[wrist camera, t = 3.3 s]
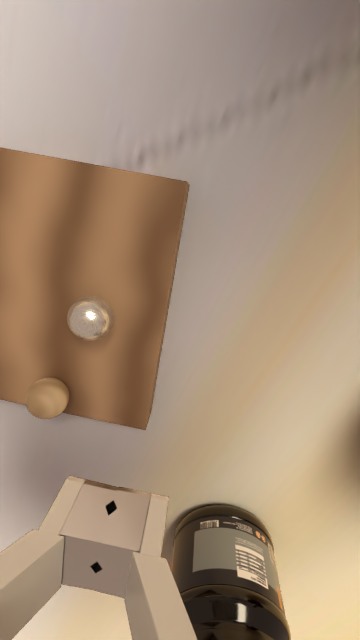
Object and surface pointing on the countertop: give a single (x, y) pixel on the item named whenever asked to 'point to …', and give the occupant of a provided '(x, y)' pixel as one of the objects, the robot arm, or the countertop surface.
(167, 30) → the countertop surface
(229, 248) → the countertop surface
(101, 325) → the steel ball
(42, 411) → the cork ball
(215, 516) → the supplement container
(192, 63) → the countertop surface
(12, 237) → the board
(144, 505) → the robot arm
